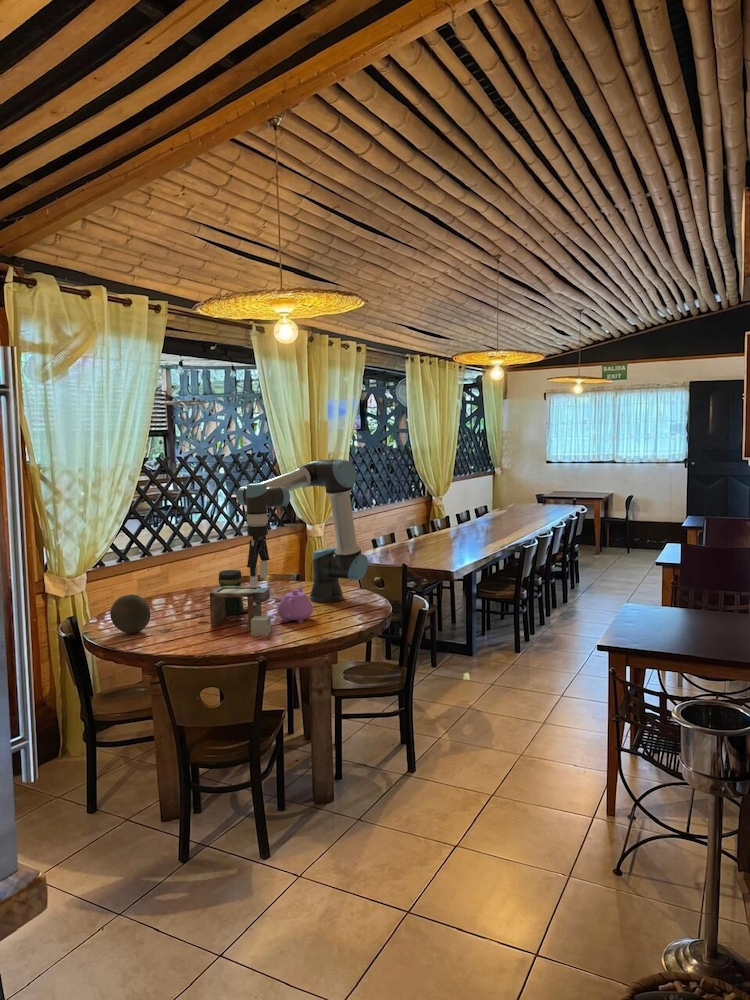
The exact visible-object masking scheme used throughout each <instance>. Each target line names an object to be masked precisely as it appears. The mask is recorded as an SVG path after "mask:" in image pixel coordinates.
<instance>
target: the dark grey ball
mask: <svg viewBox="0 0 750 1000" xmlns="http://www.w3.org/2000/svg"><path fill="white" fill-rule="evenodd" d="M109 615H110V620H111V623H112V624H113V626H114V627H115V628H117V630H119V631H120V632H122V633H125V634H129V635H130V634H131V635H132V633H133V634H137V633H140V632H142V631H143V630H144V629H145V628H146V627H147V626H148V624H149V623H150V620H151V609H150V605H149V604H148V602H147V600H145V599H144V598H143V597H141V596H139V595H137V594H127V595H123V596H120V597H118V598H117V599H116V600H115V601H114V602H113V604H112V606H111V608H110V612H109Z"/></svg>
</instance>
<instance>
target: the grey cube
mask: <svg viewBox="0 0 750 1000" xmlns="http://www.w3.org/2000/svg"><path fill="white" fill-rule="evenodd" d="M271 619H272V618H271V615H262V616H255V617H253V618H252V619H251V627H250V634H251V635H250V636H255V637H257V636H260V637H261V636H263V637H265V636H268V635H269V634H270V633H271V631H272V623H271Z"/></svg>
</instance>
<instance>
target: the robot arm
mask: <svg viewBox="0 0 750 1000" xmlns="http://www.w3.org/2000/svg"><path fill="white" fill-rule="evenodd" d="M356 480H357V470H356V468H355V466H354V464H353V463H352V462H350V461H348V460H347V459H346V460H345V459H340V458H339V459H319V460H318V459H317V460H313V461H310V462H307V463H305V464H302V465H299V466H296V467H295V468H294V470H293V471H290V472H287V473H285V474H284V473H283V474H281V475H279V476H275V477H273V478H271V479H268V480H264V481H262V482H260V483H249V484H247V485H246V486H241V487H239V488H238V489H237V491H236V493H235V494H236V495H235V498H236V501H237V503H238V504H239V505H240V506H245V507H246V516H245V519H246V520H247V521H246V522H247V523H246V524H247V525H248V526H247V527H246V528H247V529H246V530H247V533H246V534H247V536H248V537H251V538H252V539H250V540H249V548H248V555H247V556H248V557H247V565H246V568H247V569H248V568H249V585H250V586H258V585H259V583H258V582H259V581H258V580H259V579H258V567H257V565H258V559H259V558H260V560H259V578H261V579H264V578H266V579H268V577H269V576H268V575H269V574H268V561H270V556H269V550H268V545H267V544H268V543H267V535H268V534H269V531H268V530H269V527H268V525H267V524H268V509H270V508H282V507H285V506H287V505H288V504H289V503H290V501H291V493H290V492H292V491H295V490H297V489H299V488H301V489H305V488H309V487H324V488H325V489H324V490H325V493H326V495H328V496H329V499H330V505H331V513H332V518H333V525H334V526H333V527H334V533H335V539H336V546H337V547H330V548H322V549H321V548H320V549H317V550H314V551H313V553H312V576H313V577H312V579H313V581H312V587H311V590H310V593H309V600H310V601H312V602H314V603H334V602H339V601H342V600H343V599H344V592H343V590H342V587H341V584H340V581H339V580H340V579H341V580H342V579H343V580H344V579H345V580H350V581H358V580H362V579H363V577H364V576H365V575H366V572H367V571H368V567H369V559H368V557H367V556H366V555H365V554H364V553H362V548H361V547H360V546H359V545H358V544H357V539H356V538H357V536H356V530H355V523H354V517H353V508H352V507H353V506H352V502H351V501H352V500H351V494H350V493H351V491H352V490H353V486H354V485H355V484H356Z"/></svg>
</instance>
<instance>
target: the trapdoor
mask: <svg viewBox="0 0 750 1000" xmlns="http://www.w3.org/2000/svg"><path fill="white" fill-rule="evenodd" d="M220 592H253V604H255V603H261V604H262V603H263V604H264V603H265V602H266V601H268V600H269V599H270V587H261V588H256V589H223V590H221V591H220Z"/></svg>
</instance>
